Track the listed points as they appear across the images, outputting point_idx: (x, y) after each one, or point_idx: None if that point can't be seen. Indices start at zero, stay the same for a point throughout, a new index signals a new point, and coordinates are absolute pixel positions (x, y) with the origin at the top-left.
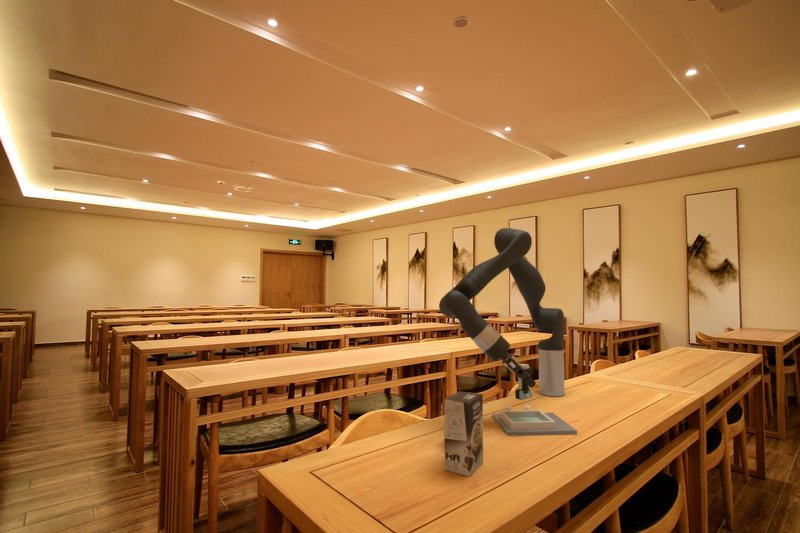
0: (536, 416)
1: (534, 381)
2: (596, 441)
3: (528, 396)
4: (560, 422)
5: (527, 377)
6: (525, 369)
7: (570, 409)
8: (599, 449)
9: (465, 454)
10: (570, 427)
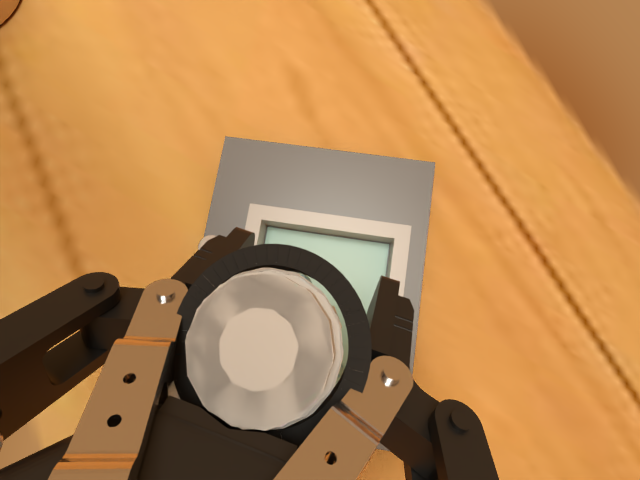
0: (264, 233)
1: (397, 291)
2: (505, 144)
3: (336, 313)
4: (339, 171)
5: (407, 364)
6: (361, 365)
7: (178, 37)
8: (574, 178)
9: None
10: (399, 167)
